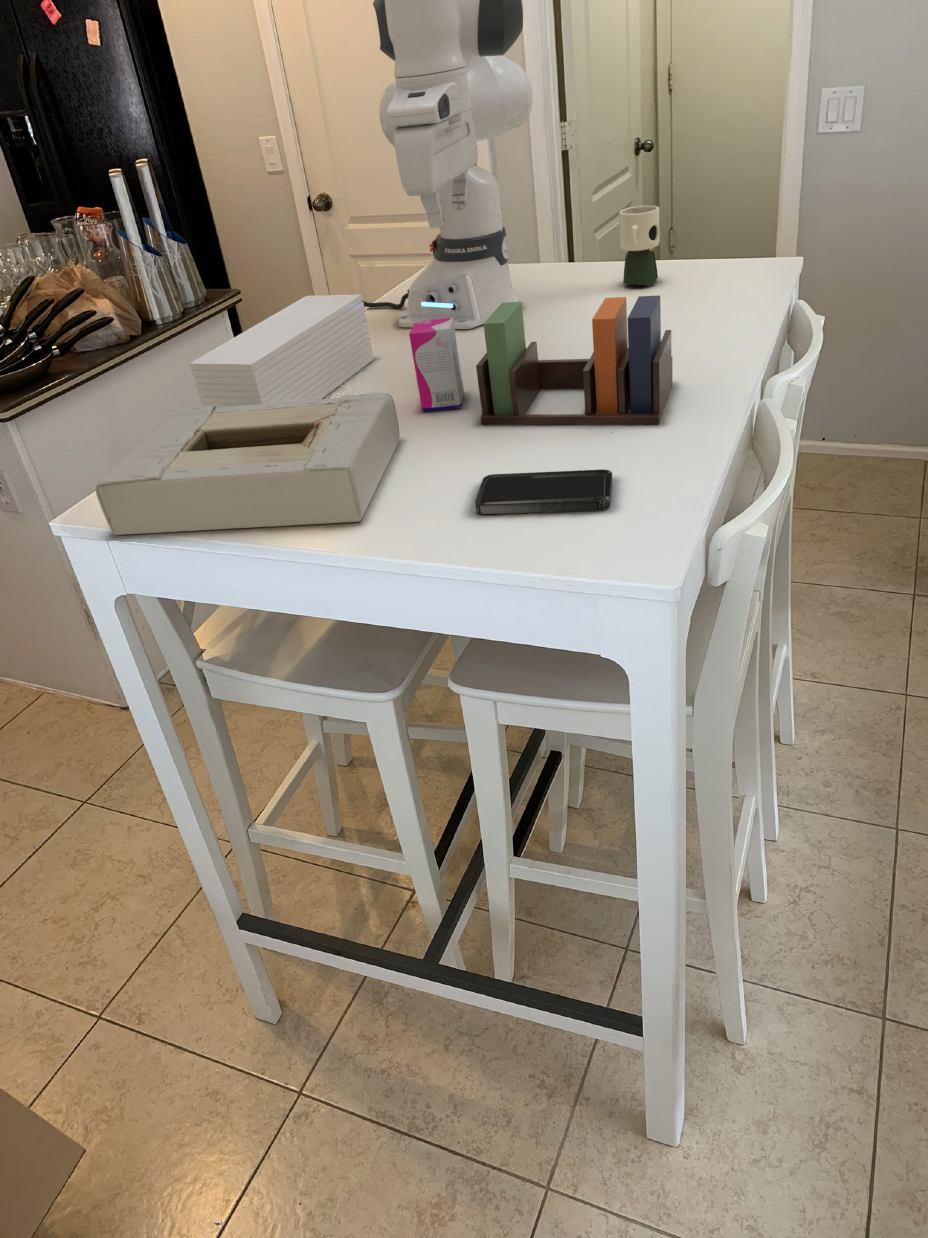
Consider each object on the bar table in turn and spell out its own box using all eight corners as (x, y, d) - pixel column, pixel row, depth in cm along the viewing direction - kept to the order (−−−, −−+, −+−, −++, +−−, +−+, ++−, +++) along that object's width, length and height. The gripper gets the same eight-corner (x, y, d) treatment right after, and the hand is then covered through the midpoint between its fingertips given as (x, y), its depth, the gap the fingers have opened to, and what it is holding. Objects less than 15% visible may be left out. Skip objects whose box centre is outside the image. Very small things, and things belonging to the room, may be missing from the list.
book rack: (481, 425, 123) (474, 367, 119) (508, 387, 134) (502, 333, 129) (659, 424, 115) (658, 363, 111) (672, 384, 126) (672, 327, 121)
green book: (494, 418, 124) (483, 323, 117) (511, 393, 131) (501, 302, 124) (514, 418, 123) (503, 322, 116) (530, 393, 130) (521, 301, 123)
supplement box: (465, 393, 134) (454, 315, 127) (461, 409, 129) (450, 328, 122) (426, 397, 134) (414, 319, 128) (421, 412, 130) (408, 333, 123)
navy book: (630, 417, 118) (627, 317, 111) (640, 391, 125) (638, 296, 118) (652, 417, 118) (650, 316, 110) (661, 391, 124) (660, 295, 117)
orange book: (597, 417, 120) (591, 319, 113) (609, 392, 127) (605, 297, 119) (618, 417, 119) (614, 318, 112) (629, 391, 126) (626, 296, 119)
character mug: (653, 292, 163) (652, 215, 156) (615, 293, 166) (612, 217, 159) (665, 275, 172) (665, 201, 164) (628, 276, 174) (626, 203, 167)
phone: (609, 500, 98) (473, 505, 101) (609, 509, 98) (474, 514, 102) (612, 468, 104) (484, 473, 107) (613, 477, 105) (485, 482, 108)
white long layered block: (320, 358, 157) (306, 295, 151) (374, 359, 153) (361, 294, 147) (210, 434, 134) (189, 363, 128) (270, 437, 129) (251, 363, 123)
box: (402, 440, 123) (182, 455, 128) (393, 385, 118) (165, 403, 124) (367, 526, 104) (111, 539, 109) (354, 465, 100) (88, 482, 105)
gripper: (437, 89, 121) (451, 200, 129) (380, 113, 106) (400, 238, 114) (482, 84, 119) (494, 197, 127) (430, 108, 104) (447, 235, 112)
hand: (449, 217), depth 120 cm, fingers open, 8 cm apart
